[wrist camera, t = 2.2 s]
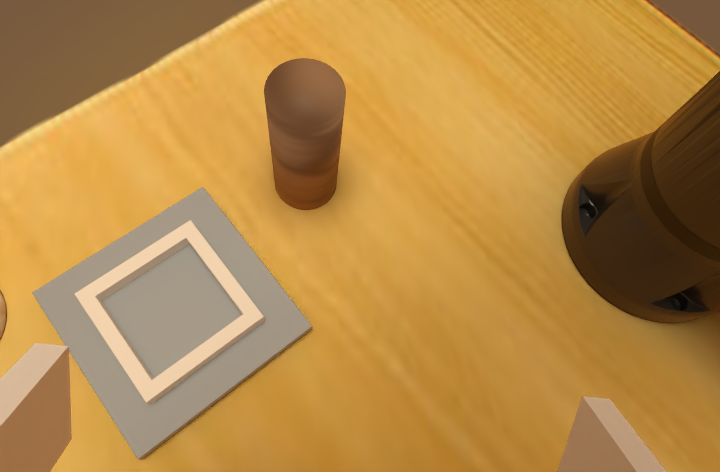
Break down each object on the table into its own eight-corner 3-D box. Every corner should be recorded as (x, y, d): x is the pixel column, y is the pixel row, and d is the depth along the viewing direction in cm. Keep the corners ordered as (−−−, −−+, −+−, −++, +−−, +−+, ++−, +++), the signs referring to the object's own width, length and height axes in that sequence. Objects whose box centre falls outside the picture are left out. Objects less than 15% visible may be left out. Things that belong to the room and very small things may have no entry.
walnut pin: (311, 145, 46) (312, 46, 35) (348, 187, 45) (362, 98, 34) (262, 176, 45) (247, 83, 33) (299, 221, 43) (297, 139, 32)
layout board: (205, 192, 44) (200, 179, 41) (311, 329, 40) (312, 322, 38) (38, 296, 39) (23, 287, 37) (142, 459, 36) (132, 459, 34)
